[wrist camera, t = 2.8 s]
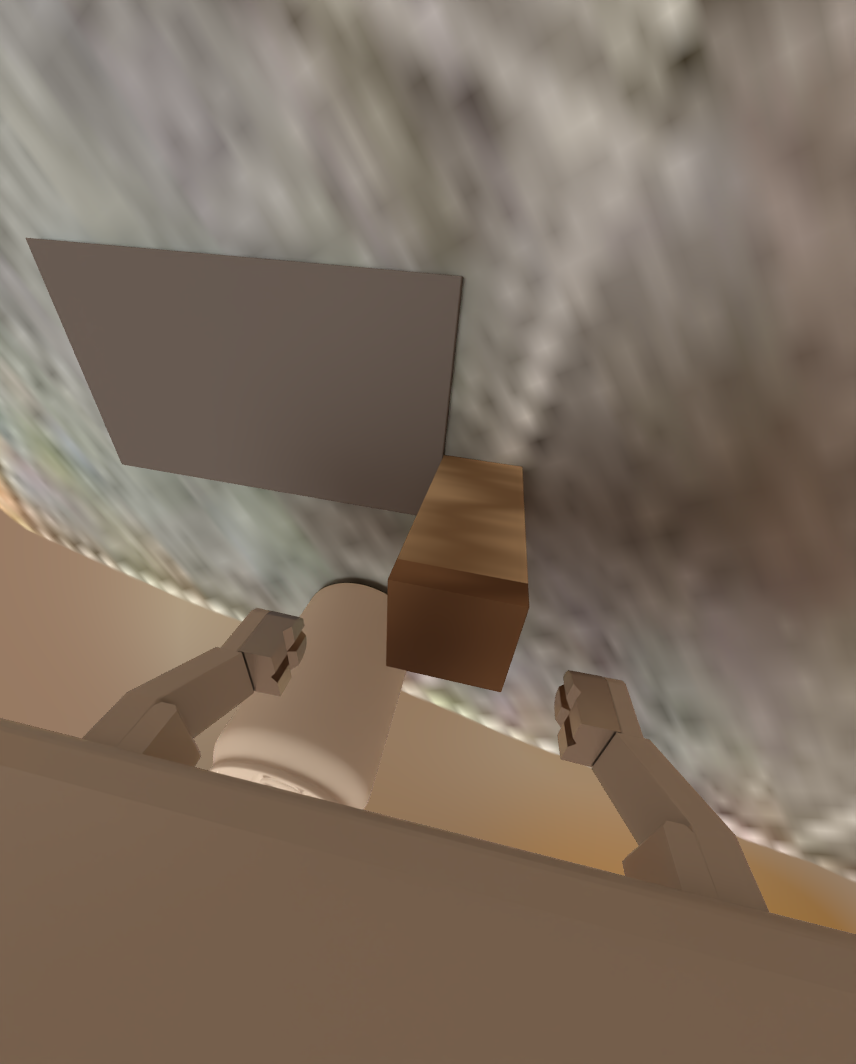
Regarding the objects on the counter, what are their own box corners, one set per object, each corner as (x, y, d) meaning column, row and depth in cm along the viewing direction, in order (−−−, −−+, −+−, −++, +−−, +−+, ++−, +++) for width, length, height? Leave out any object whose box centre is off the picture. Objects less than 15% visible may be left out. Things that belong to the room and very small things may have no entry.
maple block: (522, 466, 18) (529, 607, 10) (506, 532, 20) (500, 692, 12) (444, 454, 18) (387, 579, 10) (436, 520, 21) (386, 665, 12)
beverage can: (308, 633, 29) (202, 806, 19) (319, 560, 24) (186, 739, 14) (402, 668, 29) (344, 859, 19) (431, 601, 24) (374, 808, 14)
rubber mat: (463, 277, 14) (461, 276, 14) (437, 513, 20) (435, 518, 20) (39, 239, 17) (25, 238, 16) (130, 460, 23) (121, 464, 22)
